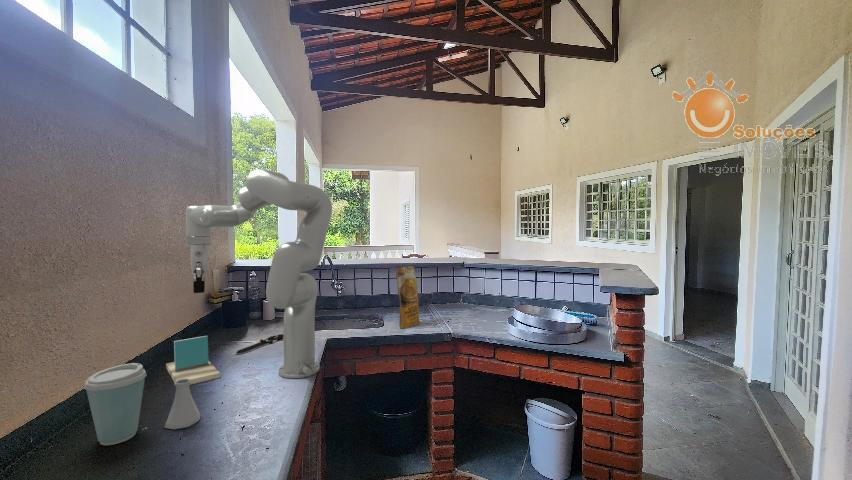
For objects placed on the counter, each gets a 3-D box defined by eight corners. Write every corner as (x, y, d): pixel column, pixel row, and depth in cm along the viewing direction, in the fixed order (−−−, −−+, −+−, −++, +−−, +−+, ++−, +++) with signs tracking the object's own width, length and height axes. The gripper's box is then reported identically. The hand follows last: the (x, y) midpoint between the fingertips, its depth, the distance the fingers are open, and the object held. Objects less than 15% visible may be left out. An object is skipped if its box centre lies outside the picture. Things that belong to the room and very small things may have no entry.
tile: (207, 363, 123) (208, 364, 122) (174, 370, 117) (175, 371, 116) (206, 335, 123) (207, 336, 122) (173, 341, 117) (174, 341, 116)
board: (219, 377, 116) (219, 372, 116) (177, 387, 108) (177, 382, 108) (204, 360, 130) (204, 355, 130) (166, 368, 123) (166, 363, 123)
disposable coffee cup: (96, 458, 76) (94, 384, 75) (77, 441, 81) (75, 372, 81) (156, 433, 85) (155, 367, 84) (135, 420, 90) (134, 358, 90)
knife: (237, 357, 135) (237, 353, 135) (225, 354, 137) (225, 350, 137) (290, 338, 157) (290, 335, 157) (279, 336, 160) (279, 333, 160)
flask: (175, 415, 93) (175, 375, 92) (206, 414, 93) (206, 374, 93) (157, 431, 86) (156, 387, 85) (190, 430, 86) (190, 387, 86)
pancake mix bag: (390, 328, 173) (391, 267, 172) (412, 319, 189) (413, 264, 188) (403, 330, 169) (403, 268, 168) (424, 321, 186) (424, 265, 185)
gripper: (211, 242, 125) (212, 293, 126) (210, 240, 140) (211, 286, 140) (185, 242, 121) (185, 295, 122) (186, 240, 136) (187, 287, 137)
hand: (199, 290), depth 131 cm, fingers open, 9 cm apart
